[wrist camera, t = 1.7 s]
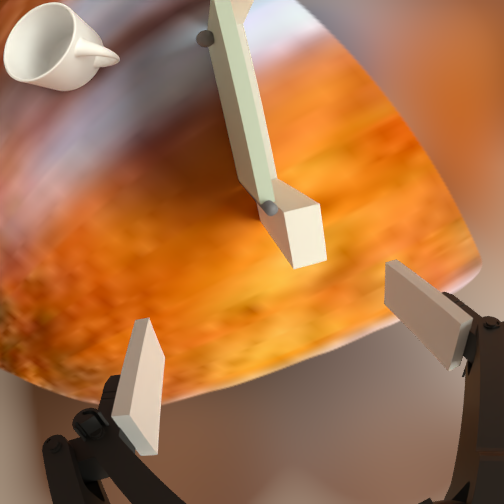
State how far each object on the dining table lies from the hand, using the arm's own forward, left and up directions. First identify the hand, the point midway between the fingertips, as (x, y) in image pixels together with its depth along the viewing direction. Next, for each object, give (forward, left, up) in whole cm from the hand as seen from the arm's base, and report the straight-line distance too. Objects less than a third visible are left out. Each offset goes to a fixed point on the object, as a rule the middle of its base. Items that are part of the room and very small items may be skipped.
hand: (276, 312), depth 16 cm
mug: (-23, -13, -25) cm, 36 cm away
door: (-12, +1, -24) cm, 27 cm away
